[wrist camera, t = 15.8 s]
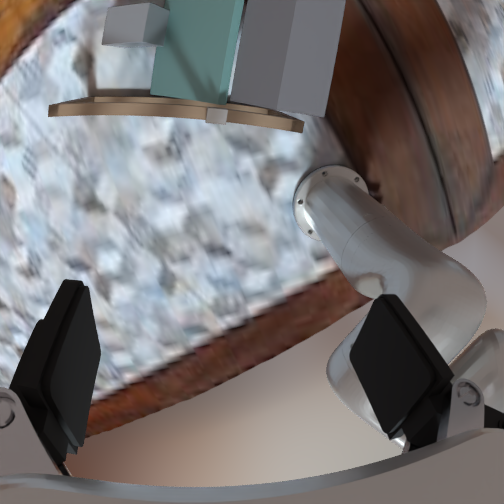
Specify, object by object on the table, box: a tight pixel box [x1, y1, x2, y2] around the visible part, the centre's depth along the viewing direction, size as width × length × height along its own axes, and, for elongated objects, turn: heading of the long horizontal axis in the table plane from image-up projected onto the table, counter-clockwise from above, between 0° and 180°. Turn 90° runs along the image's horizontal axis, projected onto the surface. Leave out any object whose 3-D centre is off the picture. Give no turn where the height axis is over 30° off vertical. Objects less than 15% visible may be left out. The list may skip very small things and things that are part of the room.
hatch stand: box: [48, 96, 304, 133], centre depth 27 cm, size 26×21×14 cm
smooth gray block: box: [102, 2, 170, 48], centre depth 29 cm, size 5×5×6 cm
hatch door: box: [150, 0, 346, 117], centre depth 28 cm, size 22×18×8 cm
